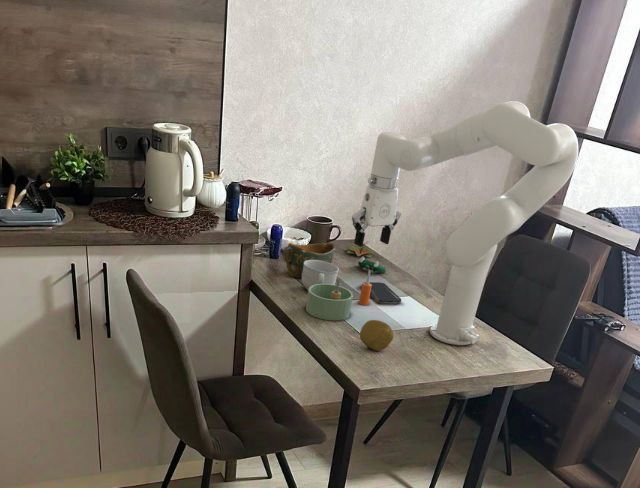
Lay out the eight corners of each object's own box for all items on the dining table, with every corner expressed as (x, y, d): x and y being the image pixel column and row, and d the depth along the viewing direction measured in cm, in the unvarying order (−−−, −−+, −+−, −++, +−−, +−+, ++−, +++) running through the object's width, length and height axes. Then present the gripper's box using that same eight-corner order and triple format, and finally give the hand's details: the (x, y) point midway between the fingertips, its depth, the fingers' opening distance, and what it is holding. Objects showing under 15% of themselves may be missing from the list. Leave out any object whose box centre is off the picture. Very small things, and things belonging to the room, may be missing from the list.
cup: (270, 265, 237) (274, 234, 231) (328, 267, 242) (333, 236, 237) (280, 279, 227) (284, 248, 221) (340, 281, 232) (345, 249, 227)
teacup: (303, 281, 228) (307, 256, 223) (337, 287, 227) (341, 262, 222) (295, 296, 216) (298, 270, 212) (330, 303, 215) (334, 277, 211)
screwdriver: (369, 304, 218) (376, 272, 212) (362, 305, 217) (368, 273, 211) (364, 301, 220) (370, 269, 214) (357, 302, 218) (363, 269, 213)
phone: (383, 282, 232) (402, 300, 220) (382, 285, 233) (401, 303, 221) (360, 282, 230) (379, 300, 218) (360, 285, 230) (378, 303, 219)
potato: (355, 343, 193) (361, 315, 189) (382, 343, 195) (388, 315, 191) (363, 354, 188) (369, 326, 183) (391, 354, 189) (397, 326, 185)
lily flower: (340, 255, 255) (343, 242, 252) (347, 246, 264) (349, 233, 262) (374, 261, 253) (376, 248, 250) (379, 252, 263) (381, 239, 260)
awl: (339, 313, 207) (345, 279, 201) (332, 314, 206) (337, 280, 200) (334, 310, 209) (339, 276, 203) (326, 311, 207) (332, 277, 202)
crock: (358, 317, 208) (361, 297, 205) (322, 323, 202) (325, 302, 199) (332, 301, 217) (335, 281, 213) (297, 305, 210) (299, 286, 207)
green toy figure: (358, 271, 247) (354, 262, 242) (363, 262, 248) (359, 252, 242) (381, 279, 244) (378, 270, 238) (387, 270, 244) (383, 260, 238)
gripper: (367, 186, 191) (356, 250, 200) (415, 185, 200) (402, 246, 209) (350, 179, 196) (339, 241, 205) (397, 177, 204) (385, 237, 214)
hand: (371, 243), depth 207 cm, fingers open, 9 cm apart
